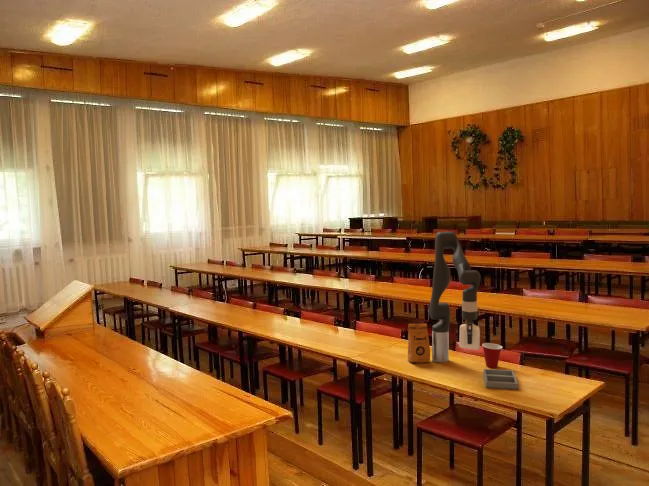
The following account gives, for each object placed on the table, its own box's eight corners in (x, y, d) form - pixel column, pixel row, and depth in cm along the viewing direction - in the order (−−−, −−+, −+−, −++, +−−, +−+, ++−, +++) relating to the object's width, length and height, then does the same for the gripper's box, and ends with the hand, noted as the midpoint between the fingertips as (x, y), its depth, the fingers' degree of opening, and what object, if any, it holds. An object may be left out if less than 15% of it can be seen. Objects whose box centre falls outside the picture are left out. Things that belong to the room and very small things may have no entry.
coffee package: (431, 364, 308) (430, 325, 306) (408, 364, 308) (408, 325, 307) (428, 358, 318) (428, 321, 316) (407, 359, 318) (406, 321, 317)
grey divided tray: (485, 387, 267) (485, 382, 267) (483, 374, 288) (483, 368, 287) (518, 389, 264) (518, 383, 264) (513, 376, 284) (513, 370, 284)
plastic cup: (503, 370, 295) (503, 348, 294) (482, 369, 297) (482, 347, 296) (501, 364, 305) (501, 342, 304) (481, 363, 307) (481, 342, 306)
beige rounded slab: (480, 348, 278) (480, 324, 277) (478, 350, 274) (478, 326, 273) (460, 345, 283) (460, 322, 282) (458, 347, 280) (458, 324, 279)
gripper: (461, 306, 285) (461, 338, 286) (462, 312, 271) (462, 345, 273) (476, 307, 283) (476, 339, 285) (477, 312, 269) (477, 346, 271)
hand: (469, 342), depth 279 cm, fingers closed on beige rounded slab, 5 cm apart
